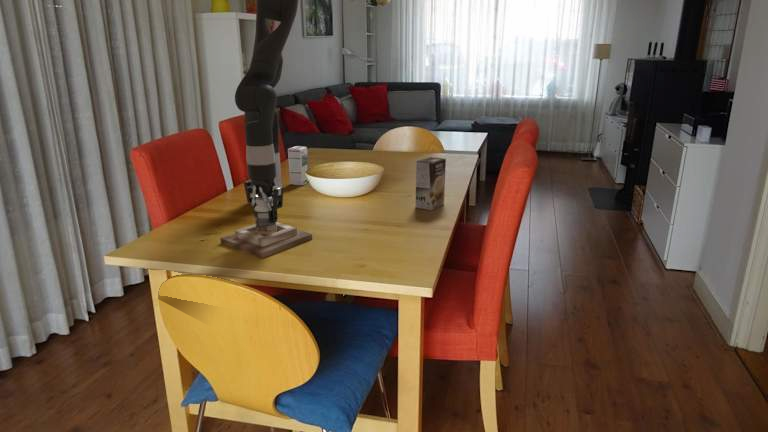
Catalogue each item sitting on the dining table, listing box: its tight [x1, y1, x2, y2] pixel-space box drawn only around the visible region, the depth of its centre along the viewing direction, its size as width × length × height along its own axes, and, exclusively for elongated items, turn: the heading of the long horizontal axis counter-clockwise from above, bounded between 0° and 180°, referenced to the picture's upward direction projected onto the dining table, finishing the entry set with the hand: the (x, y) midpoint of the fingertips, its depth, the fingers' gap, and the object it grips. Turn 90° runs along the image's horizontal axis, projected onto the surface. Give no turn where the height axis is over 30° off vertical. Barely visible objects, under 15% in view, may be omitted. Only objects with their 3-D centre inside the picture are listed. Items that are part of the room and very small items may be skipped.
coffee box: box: [415, 156, 447, 211], centre depth 178 cm, size 9×6×16 cm
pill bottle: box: [253, 197, 277, 235], centre depth 147 cm, size 6×6×10 cm
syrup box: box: [287, 145, 310, 186], centre depth 208 cm, size 6×6×14 cm
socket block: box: [219, 221, 313, 259], centre depth 149 cm, size 18×18×4 cm
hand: (265, 219), depth 147 cm, fingers closed on pill bottle, 5 cm apart
